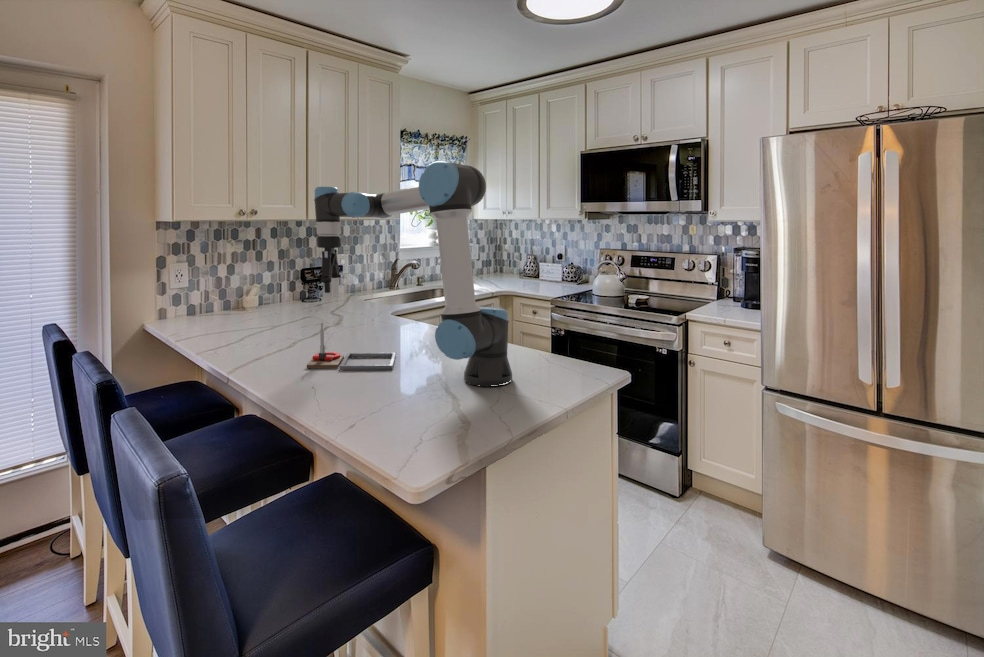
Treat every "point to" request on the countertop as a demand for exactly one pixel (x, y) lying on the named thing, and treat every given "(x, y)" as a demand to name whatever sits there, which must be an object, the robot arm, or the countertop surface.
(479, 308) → the robot arm
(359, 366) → the grey square tray
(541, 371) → the countertop surface
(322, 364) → the walnut board
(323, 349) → the tow hook
